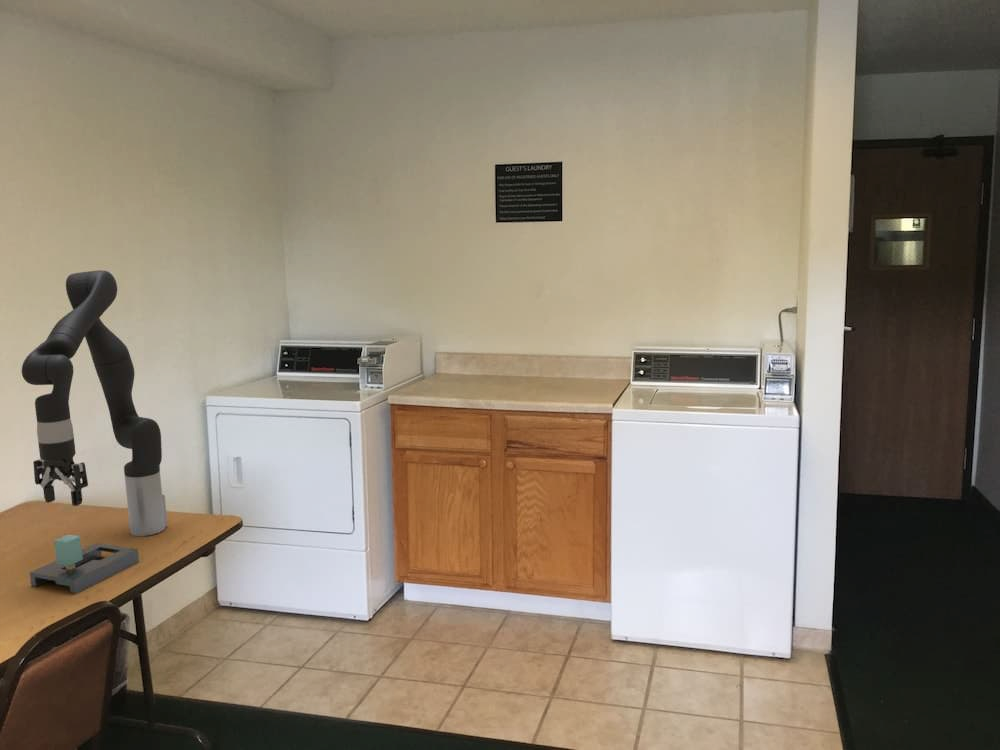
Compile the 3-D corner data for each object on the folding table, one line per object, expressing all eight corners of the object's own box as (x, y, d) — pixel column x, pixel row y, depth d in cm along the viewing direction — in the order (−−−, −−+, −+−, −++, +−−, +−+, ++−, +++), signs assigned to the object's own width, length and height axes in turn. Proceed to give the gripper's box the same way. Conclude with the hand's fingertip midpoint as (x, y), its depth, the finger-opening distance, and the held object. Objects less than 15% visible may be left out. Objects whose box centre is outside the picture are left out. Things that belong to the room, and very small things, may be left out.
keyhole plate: (97, 555, 217) (96, 542, 216) (139, 561, 212) (137, 549, 212) (31, 586, 199) (29, 572, 198) (75, 594, 194) (73, 580, 193)
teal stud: (72, 575, 204) (68, 533, 202) (88, 578, 203) (83, 535, 201) (55, 583, 200) (50, 540, 198) (71, 586, 198) (66, 543, 196)
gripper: (91, 436, 196) (98, 501, 199) (47, 432, 201) (54, 495, 204) (65, 444, 189) (73, 511, 192) (19, 439, 194) (28, 505, 197)
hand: (63, 503), depth 198 cm, fingers open, 8 cm apart
